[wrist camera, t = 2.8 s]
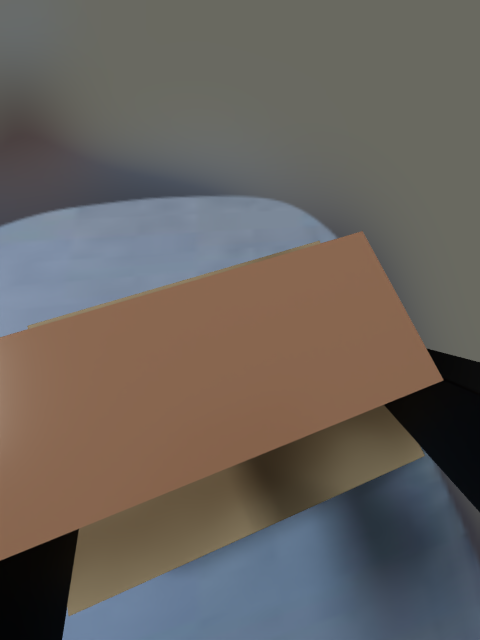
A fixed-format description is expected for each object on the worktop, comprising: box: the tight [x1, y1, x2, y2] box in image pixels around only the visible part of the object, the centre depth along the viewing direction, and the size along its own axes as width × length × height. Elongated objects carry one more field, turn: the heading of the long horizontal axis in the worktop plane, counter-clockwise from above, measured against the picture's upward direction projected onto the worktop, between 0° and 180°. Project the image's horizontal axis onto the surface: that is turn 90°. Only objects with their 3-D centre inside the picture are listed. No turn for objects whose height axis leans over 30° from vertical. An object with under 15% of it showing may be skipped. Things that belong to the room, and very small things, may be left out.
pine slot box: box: [28, 241, 425, 616], centre depth 14 cm, size 12×16×4 cm
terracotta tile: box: [0, 232, 443, 561], centre depth 10 cm, size 2×6×13 cm, turn 109°
